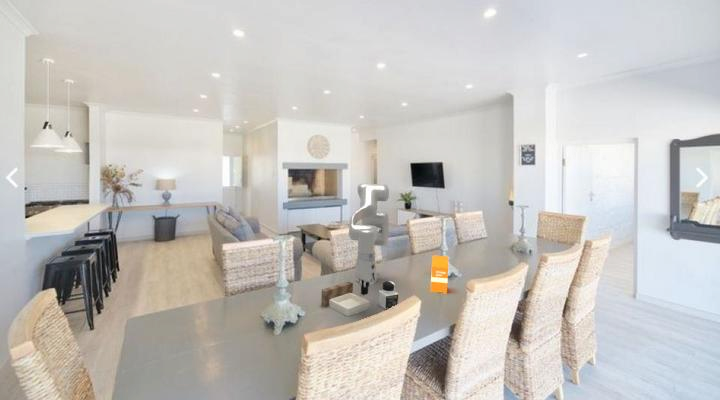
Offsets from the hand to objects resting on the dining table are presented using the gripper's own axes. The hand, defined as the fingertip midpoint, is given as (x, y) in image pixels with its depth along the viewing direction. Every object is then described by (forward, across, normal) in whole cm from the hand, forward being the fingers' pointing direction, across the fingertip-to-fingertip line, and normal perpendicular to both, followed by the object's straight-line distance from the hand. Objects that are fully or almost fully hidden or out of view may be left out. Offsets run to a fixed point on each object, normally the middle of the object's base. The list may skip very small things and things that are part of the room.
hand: (364, 293), depth 150 cm
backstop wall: (+10, +18, +1) cm, 21 cm away
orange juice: (+11, -6, -54) cm, 55 cm away
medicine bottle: (+10, -2, -15) cm, 18 cm away
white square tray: (+10, +9, +1) cm, 14 cm away
